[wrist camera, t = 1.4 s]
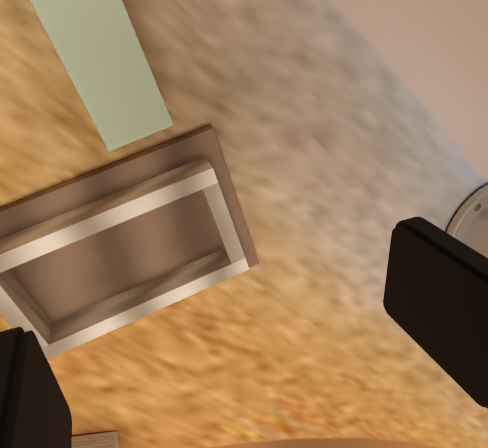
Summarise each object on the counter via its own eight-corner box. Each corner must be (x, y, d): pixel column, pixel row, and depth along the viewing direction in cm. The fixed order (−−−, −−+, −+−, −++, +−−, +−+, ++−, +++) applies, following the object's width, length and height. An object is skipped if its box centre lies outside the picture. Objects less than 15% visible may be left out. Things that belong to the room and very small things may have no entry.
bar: (73, -102, 22) (66, -135, 17) (160, 105, 29) (173, 125, 24) (2, -78, 22) (-26, -106, 17) (106, 126, 28) (109, 151, 23)
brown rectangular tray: (210, 124, 30) (222, 136, 27) (255, 257, 37) (269, 278, 34) (-59, 230, 28) (-78, 256, 25) (42, 351, 34) (37, 383, 32)
